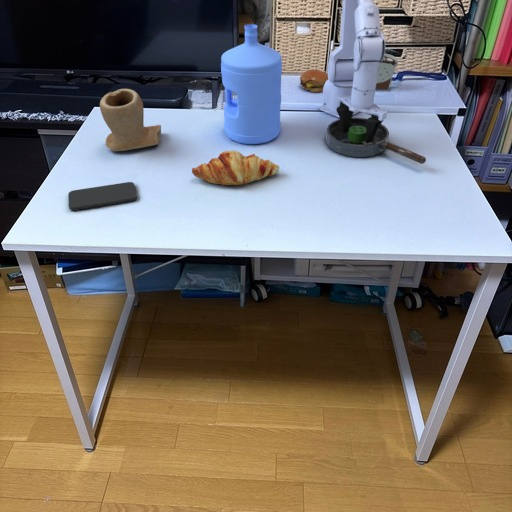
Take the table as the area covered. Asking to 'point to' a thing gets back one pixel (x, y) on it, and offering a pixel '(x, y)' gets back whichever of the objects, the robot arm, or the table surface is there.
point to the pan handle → (403, 152)
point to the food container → (385, 72)
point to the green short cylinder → (357, 134)
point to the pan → (348, 148)
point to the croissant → (235, 169)
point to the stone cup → (127, 121)
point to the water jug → (252, 90)
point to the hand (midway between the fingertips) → (357, 136)
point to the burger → (313, 80)
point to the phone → (101, 195)
